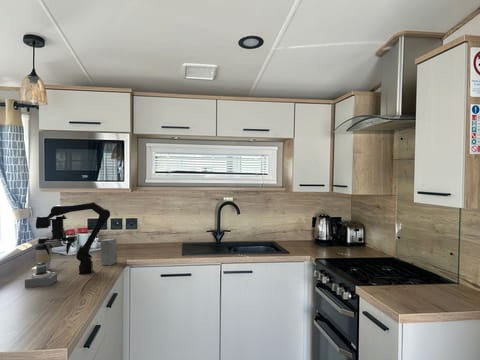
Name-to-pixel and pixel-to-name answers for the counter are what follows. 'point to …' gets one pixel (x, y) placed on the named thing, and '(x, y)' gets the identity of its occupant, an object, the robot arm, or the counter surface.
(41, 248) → the coffee cup
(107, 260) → the skincare box
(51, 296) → the counter surface
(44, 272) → the lens
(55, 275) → the camera body
